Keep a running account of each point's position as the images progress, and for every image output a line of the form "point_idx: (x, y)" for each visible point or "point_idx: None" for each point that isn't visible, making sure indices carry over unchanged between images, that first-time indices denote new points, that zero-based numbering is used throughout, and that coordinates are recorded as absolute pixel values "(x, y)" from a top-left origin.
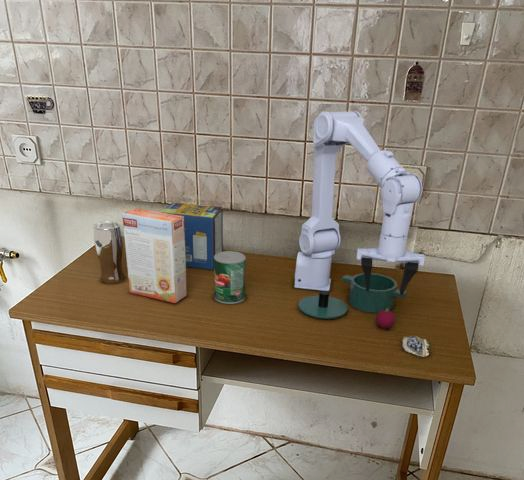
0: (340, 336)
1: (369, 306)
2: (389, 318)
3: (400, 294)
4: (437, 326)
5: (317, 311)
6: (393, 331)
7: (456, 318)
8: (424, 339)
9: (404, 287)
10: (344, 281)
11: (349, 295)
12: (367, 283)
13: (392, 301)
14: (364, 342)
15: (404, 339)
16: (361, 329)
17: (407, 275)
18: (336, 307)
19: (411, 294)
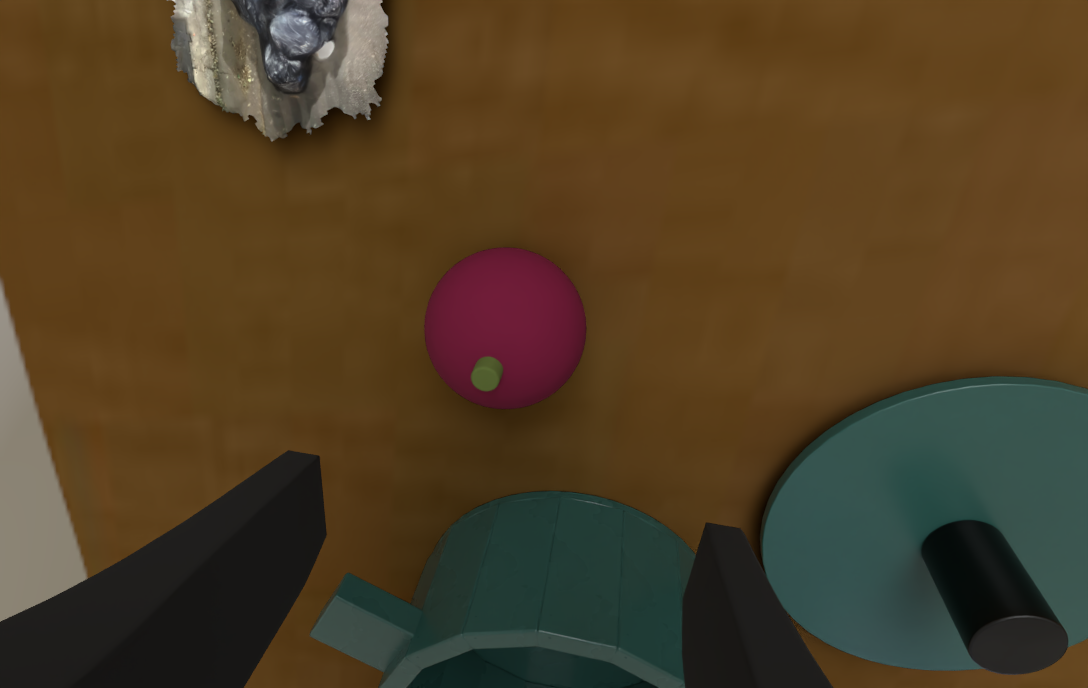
0: (948, 98)
1: (599, 529)
2: (474, 282)
3: (314, 456)
4: (149, 338)
5: (1050, 467)
6: (451, 240)
7: (53, 442)
8: (207, 90)
9: (221, 508)
10: None
11: None
12: (765, 611)
13: (428, 576)
14: (736, 3)
15: (368, 62)
16: (709, 249)
17: (39, 672)
18: (855, 526)
19: (319, 676)
